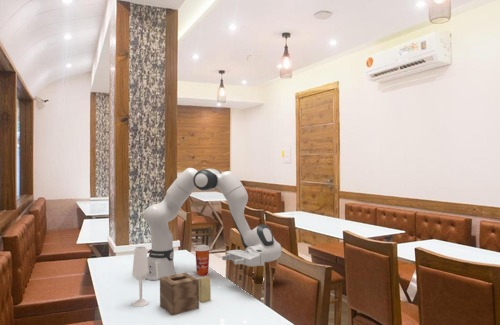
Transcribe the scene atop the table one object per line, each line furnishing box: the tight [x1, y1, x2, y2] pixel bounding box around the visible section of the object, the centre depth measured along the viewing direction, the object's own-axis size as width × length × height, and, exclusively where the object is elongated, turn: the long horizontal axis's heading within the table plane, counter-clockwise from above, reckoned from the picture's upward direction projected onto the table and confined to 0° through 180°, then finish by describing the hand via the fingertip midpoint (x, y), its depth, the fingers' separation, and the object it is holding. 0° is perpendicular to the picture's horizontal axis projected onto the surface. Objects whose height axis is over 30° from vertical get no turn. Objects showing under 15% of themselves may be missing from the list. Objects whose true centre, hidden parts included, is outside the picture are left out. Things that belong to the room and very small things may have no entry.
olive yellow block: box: [198, 275, 212, 303], centre depth 164 cm, size 4×2×10 cm, turn 126°
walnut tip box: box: [159, 272, 200, 316], centre depth 157 cm, size 12×12×12 cm
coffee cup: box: [194, 244, 211, 277], centre depth 203 cm, size 8×8×15 cm
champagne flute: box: [132, 245, 150, 307], centre depth 162 cm, size 7×7×24 cm
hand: (228, 260), depth 171 cm, fingers open, 8 cm apart
